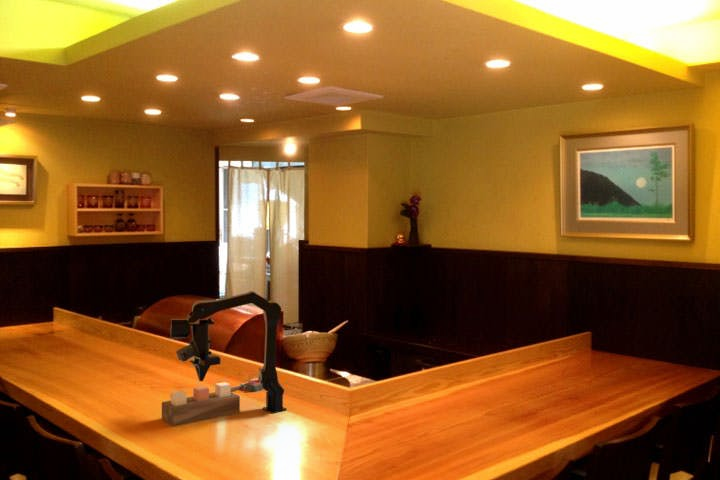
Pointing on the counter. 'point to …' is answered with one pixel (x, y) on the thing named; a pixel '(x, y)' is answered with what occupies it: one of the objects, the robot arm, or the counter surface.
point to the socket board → (200, 409)
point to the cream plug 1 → (178, 397)
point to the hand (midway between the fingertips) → (201, 381)
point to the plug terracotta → (201, 393)
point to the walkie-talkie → (250, 385)
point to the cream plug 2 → (223, 389)
